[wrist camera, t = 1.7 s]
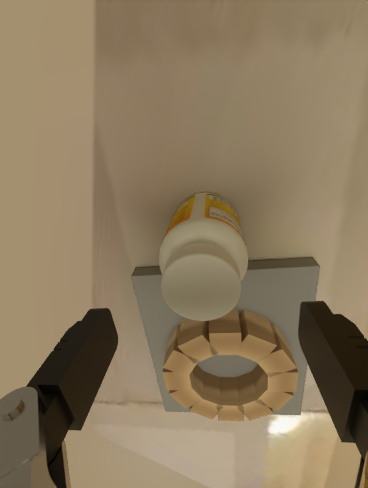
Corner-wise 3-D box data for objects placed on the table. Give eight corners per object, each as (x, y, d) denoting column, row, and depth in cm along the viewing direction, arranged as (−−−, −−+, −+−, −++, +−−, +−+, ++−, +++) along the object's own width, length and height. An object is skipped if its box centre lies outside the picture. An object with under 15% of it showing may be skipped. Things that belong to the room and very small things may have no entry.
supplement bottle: (235, 187, 19) (257, 235, 10) (238, 247, 21) (259, 329, 12) (168, 195, 20) (136, 246, 11) (178, 252, 22) (158, 333, 13)
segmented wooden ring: (159, 310, 23) (153, 334, 20) (290, 306, 21) (302, 331, 19) (176, 391, 28) (173, 418, 25) (284, 392, 26) (292, 422, 23)
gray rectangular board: (135, 267, 23) (131, 276, 22) (312, 257, 21) (320, 266, 19) (167, 399, 31) (165, 411, 30) (296, 401, 29) (300, 415, 28)
